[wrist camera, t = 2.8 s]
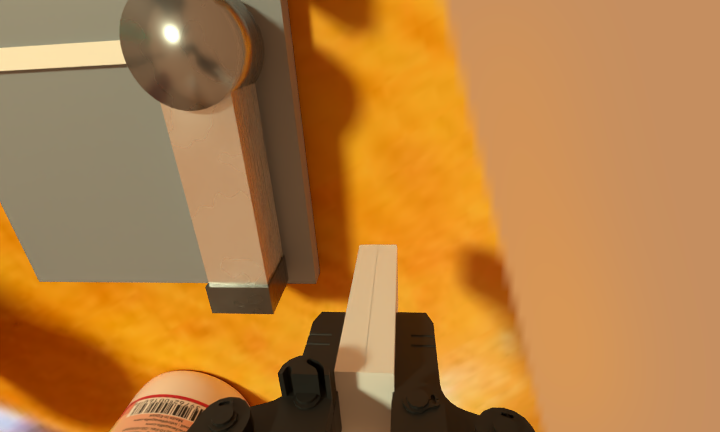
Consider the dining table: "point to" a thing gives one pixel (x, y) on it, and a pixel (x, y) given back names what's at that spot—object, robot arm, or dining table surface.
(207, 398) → the fruit juice
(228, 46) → the lock bar
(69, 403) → the dining table surface
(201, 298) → the dining table surface
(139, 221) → the plate
